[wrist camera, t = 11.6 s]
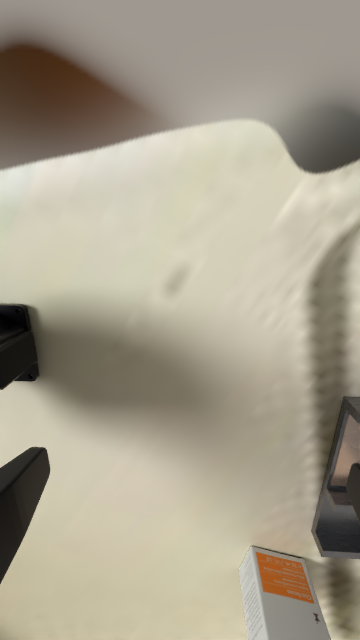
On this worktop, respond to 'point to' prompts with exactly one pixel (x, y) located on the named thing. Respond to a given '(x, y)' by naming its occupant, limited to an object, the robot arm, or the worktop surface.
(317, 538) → the compartment tray
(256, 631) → the skincare box
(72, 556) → the worktop surface
